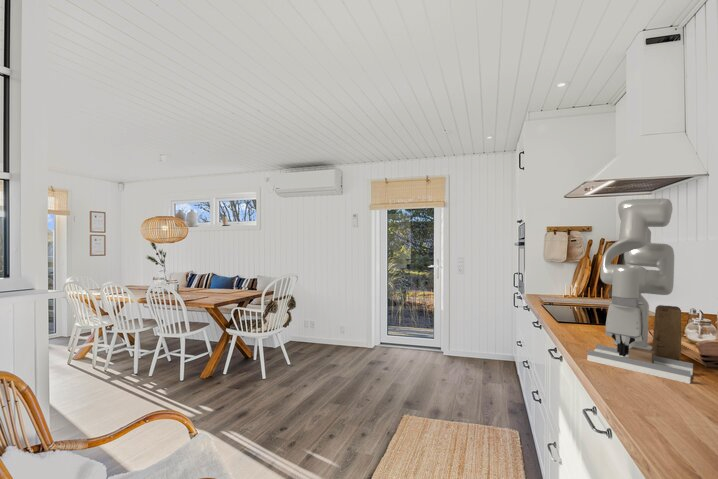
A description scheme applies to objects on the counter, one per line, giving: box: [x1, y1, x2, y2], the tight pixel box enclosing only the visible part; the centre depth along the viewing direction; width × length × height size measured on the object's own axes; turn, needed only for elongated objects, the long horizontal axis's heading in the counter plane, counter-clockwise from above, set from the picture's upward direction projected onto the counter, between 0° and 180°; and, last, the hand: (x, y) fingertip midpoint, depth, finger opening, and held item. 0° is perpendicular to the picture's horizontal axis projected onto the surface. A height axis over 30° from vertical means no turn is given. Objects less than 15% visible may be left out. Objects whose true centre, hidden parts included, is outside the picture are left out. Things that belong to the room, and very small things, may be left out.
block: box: [652, 304, 682, 361], centre depth 130 cm, size 11×8×20 cm
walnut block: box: [629, 347, 655, 364], centre depth 124 cm, size 5×6×4 cm
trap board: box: [586, 344, 694, 385], centre depth 125 cm, size 12×27×4 cm, turn 45°
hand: (622, 355), depth 128 cm, fingers closed
